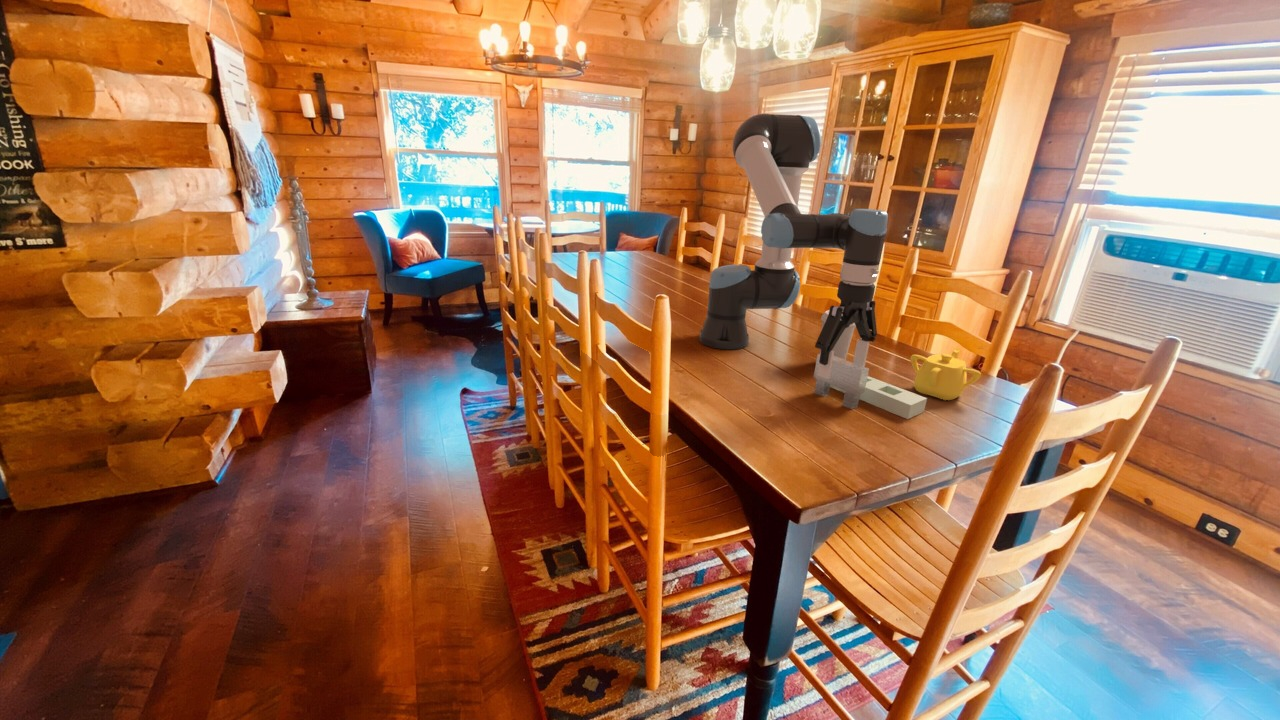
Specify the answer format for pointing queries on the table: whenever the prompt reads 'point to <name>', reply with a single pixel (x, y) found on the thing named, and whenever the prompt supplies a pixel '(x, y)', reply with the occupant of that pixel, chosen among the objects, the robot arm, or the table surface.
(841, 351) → the coffee cup
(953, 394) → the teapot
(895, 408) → the rail
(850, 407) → the grey piece
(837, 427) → the table surface
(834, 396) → the table surface
